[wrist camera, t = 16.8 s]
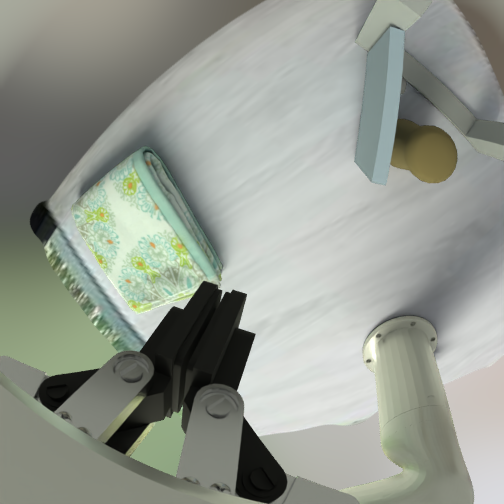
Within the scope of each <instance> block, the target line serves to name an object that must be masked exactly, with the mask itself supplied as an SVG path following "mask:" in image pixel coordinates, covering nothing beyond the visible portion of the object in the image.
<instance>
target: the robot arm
mask: <svg viewBox="0 0 504 504" xmlns="http://www.w3.org/2000/svg"><path fill="white" fill-rule="evenodd" d="M221 295H222V290H219V289H218V285H217V284H213V283H210V282H207V281H203V282H202V283H201V285H200V286H199V288H198V289H197V290H196V292H195V293H194V295H193V296H192V298H191V299H190V301H189V302H188V304H187V305H186V307H185V308H184V310H183V309H180V308H177V307H175V306H174V307H172V308H171V309H170V311H169V312H168V313H167V315H166V316H165V317H164V319H163V320H162V321H161V323H160V324H159V326H158V327H157V328H156V330H155V331H154V332H153V334H152V335H151V337H150V338H149V339H148V341H147V342H146V344H145V345H144V346H143V348H142V349H141V351H140V352H137V351H123V352H120V353H117V354H116V355H115V356H113V357H112V358H111V359H110V360H109V361H108V362H107V363H106V364H104V365H103V366H102V367H101V368H100V369H94V370H88V371H81V372H75V373H68V374H61V375H55V376H51V377H50V376H47V374H46V372H43V371H40V370H38V369H35V368H33V367H31V366H28V365H26V364H24V363H21V362H19V361H17V360H15V359H12V358H10V357H7V356H0V504H473V502H474V491H473V486H472V482H471V479H470V476H469V473H468V471H467V467H466V465H465V462H464V459H463V456H462V453H461V450H460V447H459V444H458V440H457V436H456V432H455V428H454V424H453V420H452V416H451V412H450V408H449V405H448V401H447V397H446V394H445V390H444V386H443V383H442V380H441V376H440V373H439V369H438V367H437V363H436V360H435V357H434V354H433V353H434V351H435V349H436V346H437V334H436V331H435V329H434V327H433V326H432V324H431V323H430V322H429V321H427V320H425V319H423V318H421V317H417V316H403V317H398V318H394V319H391V320H389V321H387V322H385V323H383V324H382V325H380V326H378V327H377V328H376V329H375V330H374V331H373V332H372V333H371V334H370V335H369V336H368V338H367V339H366V341H365V343H364V346H363V352H362V353H363V360H364V363H365V365H366V366H367V368H368V369H369V370H370V371H372V372H374V373H375V381H376V390H377V400H378V411H379V424H380V439H381V446H382V450H383V452H384V454H385V455H386V456H387V458H388V459H389V460H391V461H392V462H393V463H395V464H396V465H398V466H399V467H401V468H403V472H401V473H400V474H398V475H395V476H392V477H389V478H387V479H383V480H379V481H375V482H371V483H368V484H363V485H358V486H354V487H350V488H346V489H342V490H339V491H338V490H335V489H332V488H329V487H326V486H323V485H320V484H317V483H315V482H311V481H309V480H307V479H304V478H301V477H299V476H297V477H296V478H295V477H293V476H291V475H288V474H286V473H285V472H284V470H283V469H282V468H281V466H280V465H279V464H278V462H277V461H276V460H275V459H274V457H273V456H272V455H271V453H270V452H269V451H268V449H267V448H266V447H265V445H264V444H263V443H262V441H261V440H260V439H259V437H258V436H257V435H256V433H255V432H254V430H253V429H252V428H251V426H250V425H249V423H248V422H247V421H246V419H245V418H244V416H243V415H244V401H243V399H242V397H241V395H240V394H239V393H238V392H237V389H238V386H239V383H240V380H241V377H242V374H243V371H244V368H245V365H246V362H247V359H248V356H249V353H250V350H251V347H252V344H253V341H254V338H255V333H251V332H248V331H245V330H242V329H239V328H238V327H239V323H240V320H241V316H242V312H243V308H244V304H245V301H246V297H247V294H245V293H242V292H238V291H235V290H232V292H231V293H229V292H226V293H225V294H224V296H223V298H222V300H221ZM220 300H221V302H220ZM182 405H183V412H182V425H181V426H182V429H183V431H184V433H185V434H186V436H185V440H184V444H183V449H182V453H181V457H180V462H179V466H178V470H177V475H176V477H174V476H172V475H169V474H167V473H164V472H162V471H159V470H157V469H155V468H152V467H150V466H148V465H145V464H143V463H141V462H139V461H137V460H135V459H132V458H130V456H131V455H132V453H133V452H134V451H135V450H136V448H137V447H138V446H139V445H140V443H141V442H142V441H143V440H144V438H145V437H146V436H147V434H148V433H149V432H150V431H151V429H152V428H153V427H154V425H155V423H156V422H157V421H161V420H164V418H165V417H166V416H167V417H169V418H171V416H172V414H173V412H174V411H175V412H177V413H179V411H180V409H181V407H182Z"/></svg>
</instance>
